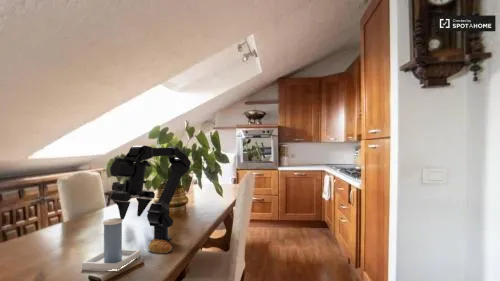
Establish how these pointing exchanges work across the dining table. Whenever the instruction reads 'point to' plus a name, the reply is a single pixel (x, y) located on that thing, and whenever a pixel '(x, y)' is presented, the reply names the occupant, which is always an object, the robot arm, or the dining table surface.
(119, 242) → the blue cylindrical canister
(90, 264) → the tray
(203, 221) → the dining table surface
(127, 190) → the robot arm
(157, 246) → the pastry
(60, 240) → the dining table surface
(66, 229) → the dining table surface
